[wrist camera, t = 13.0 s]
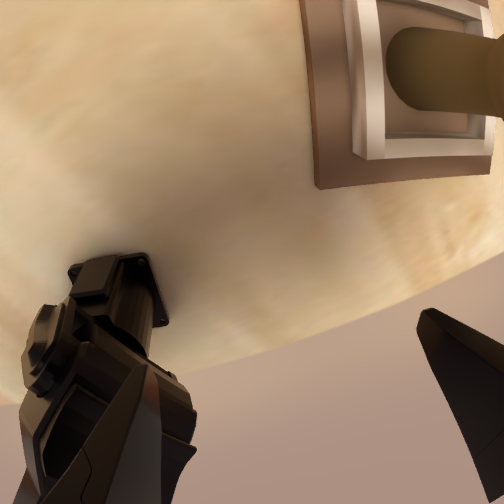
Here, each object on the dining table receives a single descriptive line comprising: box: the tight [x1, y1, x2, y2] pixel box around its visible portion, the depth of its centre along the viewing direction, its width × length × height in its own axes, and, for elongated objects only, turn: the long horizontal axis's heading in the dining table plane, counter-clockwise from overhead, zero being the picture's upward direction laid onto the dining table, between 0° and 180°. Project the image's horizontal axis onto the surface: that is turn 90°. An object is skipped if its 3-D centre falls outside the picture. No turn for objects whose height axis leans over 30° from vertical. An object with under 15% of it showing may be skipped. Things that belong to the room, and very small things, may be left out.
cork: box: [385, 27, 504, 121], centre depth 12 cm, size 6×6×11 cm
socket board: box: [299, 0, 495, 190], centre depth 16 cm, size 16×16×3 cm
